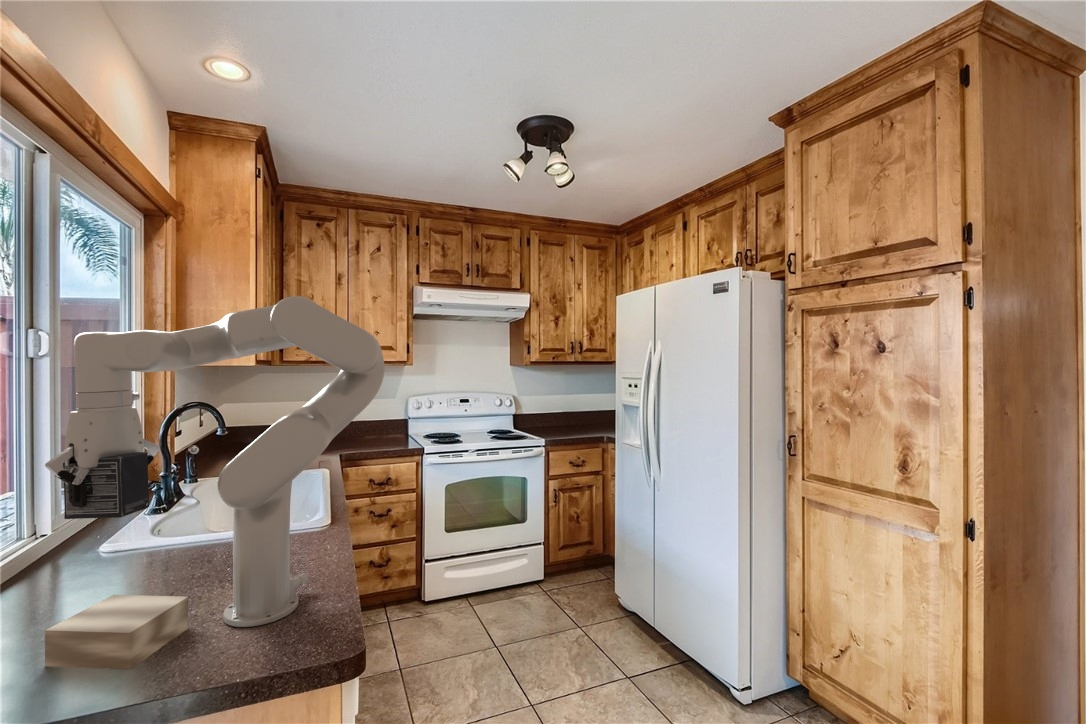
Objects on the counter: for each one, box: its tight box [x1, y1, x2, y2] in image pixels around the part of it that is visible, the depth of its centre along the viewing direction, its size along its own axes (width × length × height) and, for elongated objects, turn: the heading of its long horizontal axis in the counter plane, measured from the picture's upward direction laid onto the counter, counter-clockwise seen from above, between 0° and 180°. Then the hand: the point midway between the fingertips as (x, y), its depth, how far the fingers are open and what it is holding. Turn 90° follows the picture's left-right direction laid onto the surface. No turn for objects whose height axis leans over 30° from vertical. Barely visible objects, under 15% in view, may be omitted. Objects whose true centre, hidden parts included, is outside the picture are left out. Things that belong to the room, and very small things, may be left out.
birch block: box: [44, 594, 189, 670], centre depth 85 cm, size 12×14×6 cm
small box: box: [62, 451, 150, 520], centre depth 90 cm, size 11×6×10 cm, turn 89°
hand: (108, 499), depth 90 cm, fingers closed on small box, 8 cm apart
